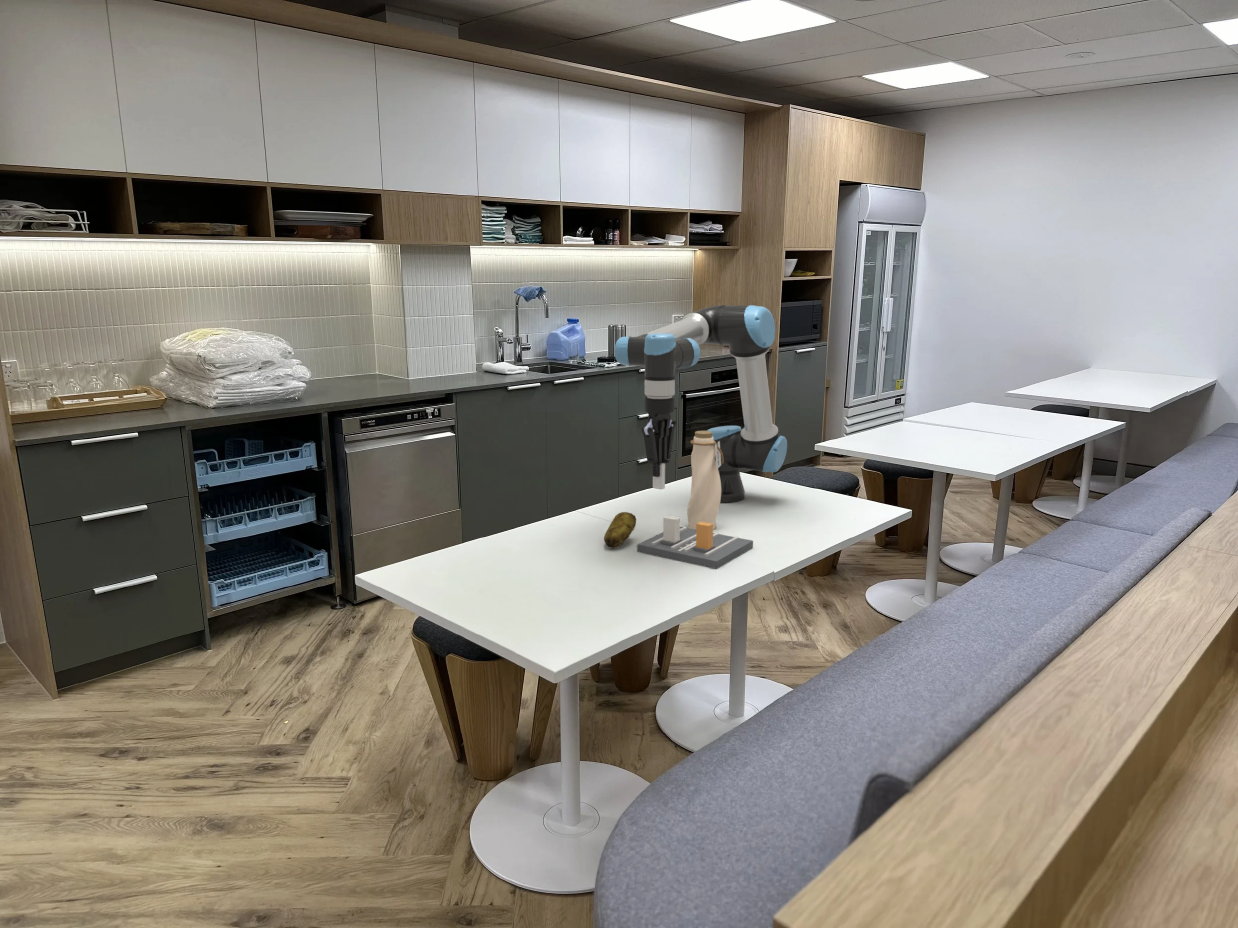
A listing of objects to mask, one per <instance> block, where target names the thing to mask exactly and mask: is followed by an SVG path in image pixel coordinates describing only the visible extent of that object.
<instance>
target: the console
mask: <svg viewBox="0 0 1238 928" xmlns="http://www.w3.org/2000/svg"><path fill="white" fill-rule="evenodd" d="M680 539H682V541H681V542H679V543H677V544H675V545H673V546H671V545H666V544H661V540H663V532H660V533H657V534H656V535H654V536H652V537H650V538H647V539H646V540H643V541H641V542H639V543H637V545H636V552H638V553H641V554H646V555H652V556H656V557H660V558H664V559H669V560H674V561H679V562H683V563H689V564H691V565H697V566H701V567H706V568H711V569H715V570H717V569H719V568H721V567H723V566H724V565H726V564H727V563H729V562H731V561H733V560H734V559H736V558H738V557H741V555H743V554H745V553H747V552H748V551H750V550H752V549H753V548H754V540H752V539H748V538H747V539H746V538H741V537H738V536H730V535H726V534H722V533H721V534H720V533H718V532H713V546H715V548H714V549H712V550H711V551H709V552H707V553H704V552H699V551H695V550H694V547H695V546H696V529H691V528H689V527H688V526H680Z"/></svg>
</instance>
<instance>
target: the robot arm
mask: <svg viewBox="0 0 1238 928" xmlns="http://www.w3.org/2000/svg"><path fill="white" fill-rule="evenodd" d="M775 333H776V323H775V319H774V316H773V314H772V312H771V311H770V309H768V308H766V306H760V305H759V306H758V305H753V304H750V305H731V304H730V305H729V304H728V305H725V304H717V305H712V306H708V307H707V306H706V307H705V308H700V309H697V310H696V311H692V312H689V313H687V314H686V315H684V316H683V317H682V319H681V320H679V321H676V322H673V323H670V324H668V325H665V326H662V327H660V328H657V329H654V330H652V331H649V332H646V333H644V334H641V335H637V336H630V335H629V336H621V337H619V338H618V339H617V340H616V343H615V346H614V357H615V360H616V361H617V363H618V364H620V365H623V366H624V365H625V366H629V367H632V366H633V367H634V366H635V367H644V384H643V385H644V395H645V397H644V403H643V406H644V408H643V409H644V412H645V413H647V414H648V415H647V421H646V422H647V424H646V426H642V427H641V432H642V435H643V440H644V447H645V448H644V449H645V453H646V454H645V455H646V456H645V457H646V462H647V463H649V464H652V489H655V490H665V489H666V464H670V459H671V456H672V451H673V450H672V449H673V442H674V434H675V433H674V432H675V429H676V425H677V421H676V420H672V416H671V414H672V413H674V412H675V402H676V401H675V398H674V396H675V394H676V392H675V391H676V389H675V388H676V386H675V384H676V383H675V382H676V381H675V380H676V378H675V375H676V374H675V373H676V370H681V369H689V368H690V367H693V366H695V365H696V364H697V363H698V362H699V360H700V358H701V348H700V345H703V344H704V345H720V346H728V347H729V348H728V349H729V354H730V355H731V357H734V358H735V360H736V361H735V362H736V369H737V370H736V371H737V378H738V384H739V393H740V400H741V408H742V409H741V410H742V416H743V417H742V418H743V424H744V427H743V428H742V427H741V426H739V425H724V426H723V425H722V426H716V427H711V428H709V429H707V430H706V431H711V432H712V436H713V440H714V441H715V442H716V444H717V443H718V442H719V441H720V449H721V451H722V453H723V457H724V463H723V464H722V458H721V466H720V467H719V468H718V471H719V475H720V481H721V500H720V503H722V504H723V503H725V504H726V503H735V502H739V501H742V500H744V499H745V497H746V495H745V493H746V491H745V486H744V484H743V480H742V477H741V469H742V470H749V471H758V472H763V473H776V472H778V471H779V470H780V469H781V468H782V466H783V463H784V461H785V459H786V456H787V451H788V440H787V438H786V436H784V435H780V434H779V427H778V426H777V425H776V424H774V423H773V417H772V416H773V414H772V407H771V398H770V387H769V381H768V379H769V378H768V370H767V360H766V354H767V353H768V352H769V351H770V346H772V345H773V343H774V342H775V338H776V334H775ZM717 445H718V444H717ZM714 446H715V445H714ZM715 462H716V456H715Z"/></svg>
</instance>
